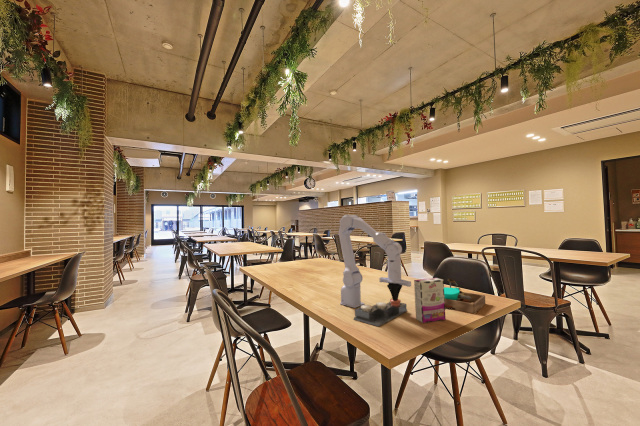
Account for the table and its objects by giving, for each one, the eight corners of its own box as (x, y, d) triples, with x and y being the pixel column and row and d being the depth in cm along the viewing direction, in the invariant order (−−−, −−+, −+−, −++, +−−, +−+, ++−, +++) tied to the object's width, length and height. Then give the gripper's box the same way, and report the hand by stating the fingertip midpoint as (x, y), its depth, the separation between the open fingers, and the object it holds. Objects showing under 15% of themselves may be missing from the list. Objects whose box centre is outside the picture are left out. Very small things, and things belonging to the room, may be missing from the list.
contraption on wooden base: (478, 304, 130) (477, 272, 131) (459, 311, 119) (458, 276, 120) (449, 298, 141) (448, 269, 142) (430, 304, 131) (429, 272, 132)
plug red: (388, 308, 121) (388, 300, 121) (393, 306, 124) (393, 298, 124) (397, 310, 118) (397, 302, 118) (402, 308, 121) (402, 299, 121)
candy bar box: (437, 316, 115) (436, 277, 116) (446, 320, 111) (444, 279, 111) (414, 319, 112) (413, 279, 113) (422, 323, 108) (421, 282, 108)
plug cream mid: (374, 312, 118) (373, 304, 118) (379, 310, 121) (379, 301, 121) (383, 315, 115) (383, 306, 115) (388, 312, 118) (388, 303, 118)
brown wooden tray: (424, 303, 132) (424, 295, 132) (438, 295, 145) (438, 288, 145) (475, 313, 117) (474, 304, 117) (485, 303, 130) (485, 295, 130)
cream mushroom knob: (359, 315, 115) (358, 306, 115) (365, 312, 118) (364, 304, 118) (368, 318, 112) (367, 309, 112) (374, 315, 115) (374, 306, 115)
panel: (352, 319, 114) (352, 310, 114) (382, 305, 131) (382, 297, 131) (380, 327, 105) (379, 317, 105) (408, 311, 122) (407, 303, 122)
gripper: (375, 269, 124) (376, 299, 123) (405, 273, 114) (406, 305, 113) (383, 267, 129) (384, 295, 128) (412, 270, 119) (413, 301, 118)
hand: (395, 300), depth 121 cm, fingers closed, pressing on plug red
